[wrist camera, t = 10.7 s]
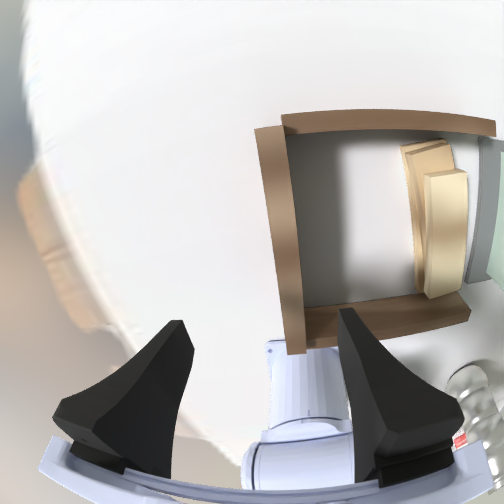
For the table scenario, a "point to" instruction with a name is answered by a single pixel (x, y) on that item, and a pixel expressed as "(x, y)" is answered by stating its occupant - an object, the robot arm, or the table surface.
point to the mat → (485, 209)
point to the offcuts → (436, 215)
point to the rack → (286, 240)
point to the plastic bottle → (480, 417)
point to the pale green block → (498, 237)
